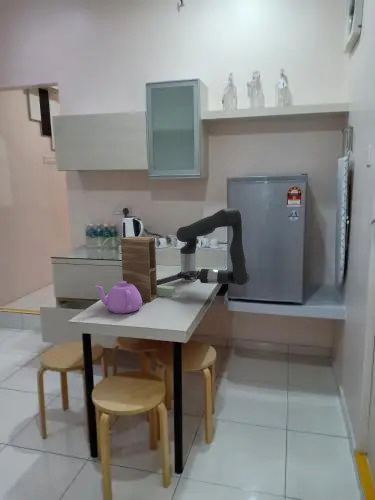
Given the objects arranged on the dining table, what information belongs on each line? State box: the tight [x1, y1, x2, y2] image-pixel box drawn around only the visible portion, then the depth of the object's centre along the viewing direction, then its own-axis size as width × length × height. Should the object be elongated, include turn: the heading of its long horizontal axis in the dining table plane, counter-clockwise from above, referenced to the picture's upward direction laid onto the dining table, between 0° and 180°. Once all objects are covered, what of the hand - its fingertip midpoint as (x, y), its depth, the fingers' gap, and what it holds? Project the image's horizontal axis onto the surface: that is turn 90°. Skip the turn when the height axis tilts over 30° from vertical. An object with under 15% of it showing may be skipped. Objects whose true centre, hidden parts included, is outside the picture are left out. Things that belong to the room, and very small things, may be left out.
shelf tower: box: [120, 235, 158, 303], centre depth 201 cm, size 9×15×32 cm, turn 71°
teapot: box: [94, 280, 143, 314], centre depth 185 cm, size 22×22×14 cm
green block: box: [157, 285, 176, 298], centre depth 211 cm, size 7×16×4 cm, turn 71°
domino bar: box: [157, 271, 191, 286], centre depth 208 cm, size 3×24×3 cm, turn 72°
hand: (178, 274), depth 206 cm, fingers closed on domino bar, 2 cm apart
